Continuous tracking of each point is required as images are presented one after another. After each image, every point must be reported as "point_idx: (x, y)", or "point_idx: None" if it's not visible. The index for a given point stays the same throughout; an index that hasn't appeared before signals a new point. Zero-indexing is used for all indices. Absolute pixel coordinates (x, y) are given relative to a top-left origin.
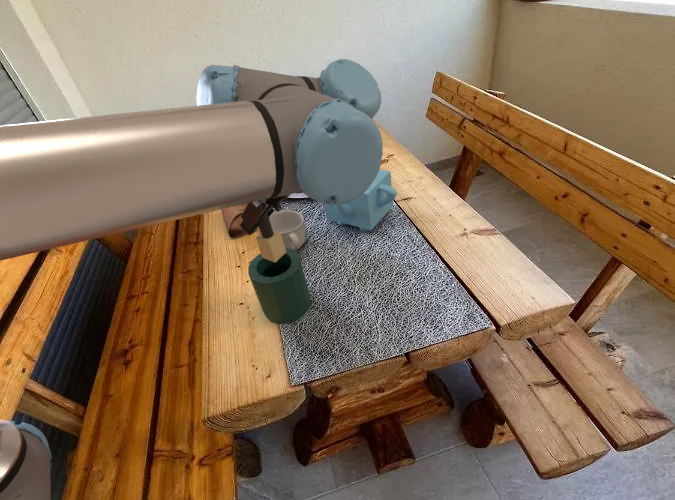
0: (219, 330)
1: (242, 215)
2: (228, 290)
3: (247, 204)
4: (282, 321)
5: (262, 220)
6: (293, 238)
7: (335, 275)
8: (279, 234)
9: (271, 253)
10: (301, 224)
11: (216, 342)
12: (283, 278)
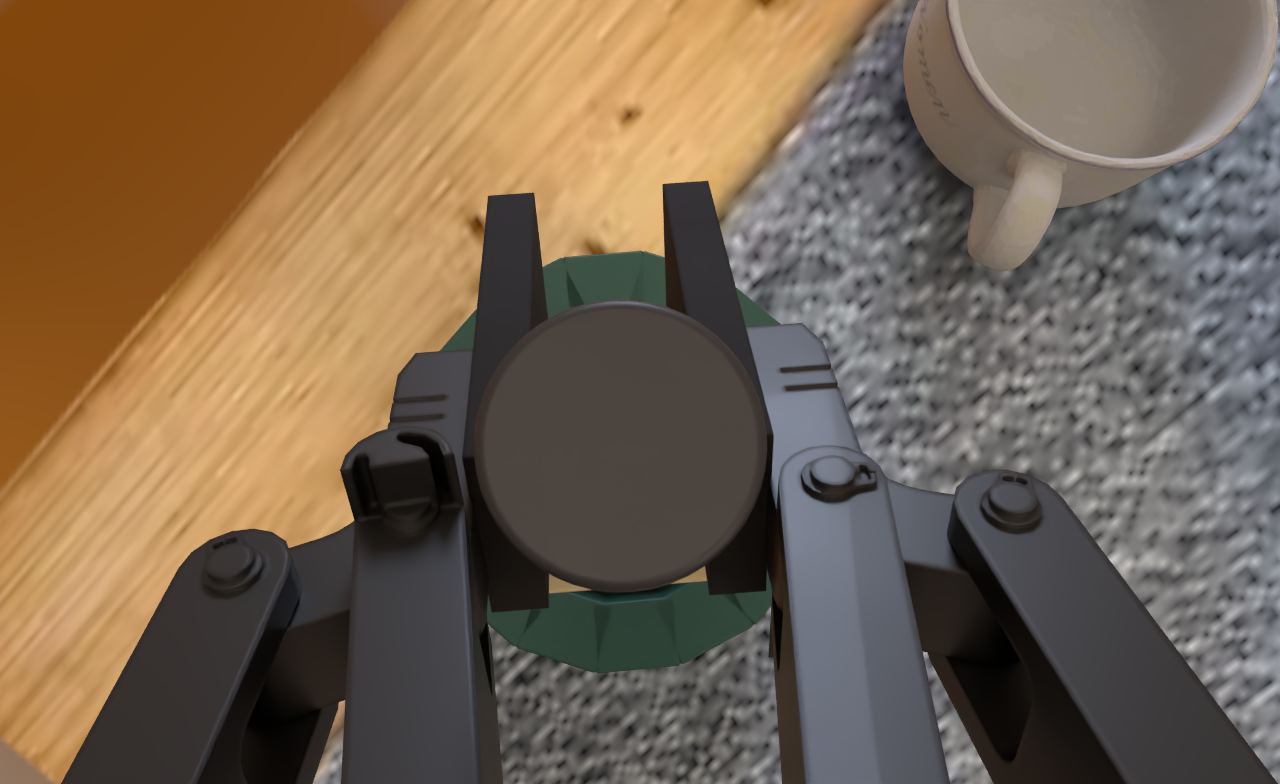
0: (268, 272)
1: (145, 644)
2: (510, 70)
3: None
4: None
5: (526, 602)
6: (1013, 225)
7: None
8: (699, 579)
9: None
10: (1172, 163)
11: (201, 325)
12: (540, 643)
